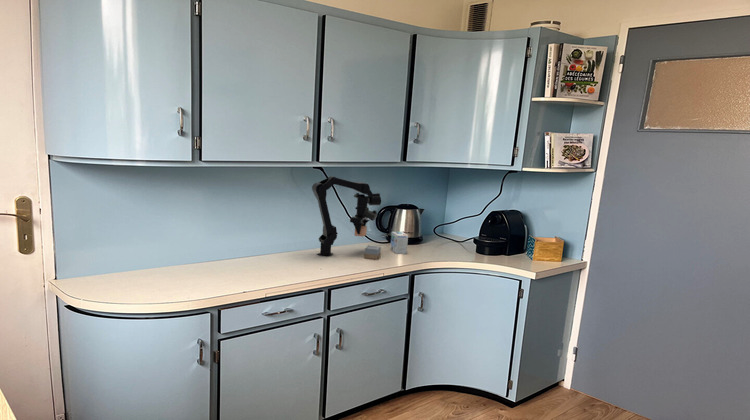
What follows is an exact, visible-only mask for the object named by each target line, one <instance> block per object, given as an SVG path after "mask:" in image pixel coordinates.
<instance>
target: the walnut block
mask: <svg viewBox="0 0 750 420" xmlns="http://www.w3.org/2000/svg"><path fill="white" fill-rule="evenodd" d="M381 255H382V253H381V251H380V253H379V254H378V255H372V254H365V252H364V254H363V258H364V259H367V260H373V261H377V260H379V259H380V258H381V257H382V256H381Z"/></svg>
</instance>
